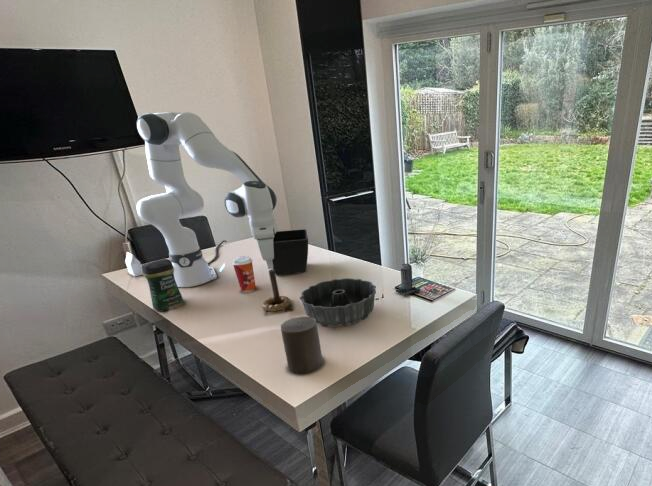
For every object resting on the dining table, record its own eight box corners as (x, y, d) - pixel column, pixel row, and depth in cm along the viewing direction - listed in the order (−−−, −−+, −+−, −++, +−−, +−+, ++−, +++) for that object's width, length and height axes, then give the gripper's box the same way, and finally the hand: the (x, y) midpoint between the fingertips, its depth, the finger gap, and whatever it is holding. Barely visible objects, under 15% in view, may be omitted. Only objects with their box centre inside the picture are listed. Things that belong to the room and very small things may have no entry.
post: (266, 305, 157) (258, 268, 151) (290, 301, 161) (283, 264, 155) (266, 314, 150) (258, 276, 144) (292, 310, 153) (285, 272, 147)
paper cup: (251, 294, 167) (243, 262, 161) (234, 293, 168) (226, 261, 162) (262, 287, 174) (256, 256, 168) (246, 285, 175) (239, 255, 169)
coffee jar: (161, 313, 152) (146, 266, 144) (150, 308, 156) (135, 263, 148) (187, 303, 159) (174, 259, 152) (177, 299, 163) (163, 255, 156)
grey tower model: (407, 287, 172) (405, 260, 167) (421, 291, 168) (420, 264, 163) (392, 294, 165) (390, 266, 160) (407, 299, 161) (405, 270, 156)
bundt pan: (318, 300, 161) (314, 277, 157) (384, 300, 160) (382, 277, 156) (292, 334, 137) (287, 307, 133) (370, 334, 136) (367, 307, 132)
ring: (260, 304, 155) (259, 299, 154) (288, 298, 160) (287, 293, 159) (265, 314, 147) (264, 308, 146) (293, 308, 152) (292, 302, 151)
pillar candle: (299, 378, 114) (290, 331, 108) (282, 365, 120) (273, 320, 114) (329, 363, 120) (322, 318, 114) (311, 351, 126) (304, 308, 120)
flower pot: (311, 260, 204) (306, 228, 197) (313, 273, 187) (308, 238, 181) (270, 265, 198) (263, 232, 191) (269, 279, 181) (262, 243, 175)
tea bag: (134, 276, 187) (127, 255, 183) (129, 273, 190) (122, 253, 186) (144, 274, 189) (137, 253, 185) (138, 271, 193) (131, 250, 189)
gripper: (254, 222, 154) (261, 256, 160) (253, 236, 137) (261, 274, 142) (272, 220, 156) (278, 254, 162) (273, 234, 139) (280, 271, 144)
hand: (270, 264), depth 152 cm, fingers open, 8 cm apart
